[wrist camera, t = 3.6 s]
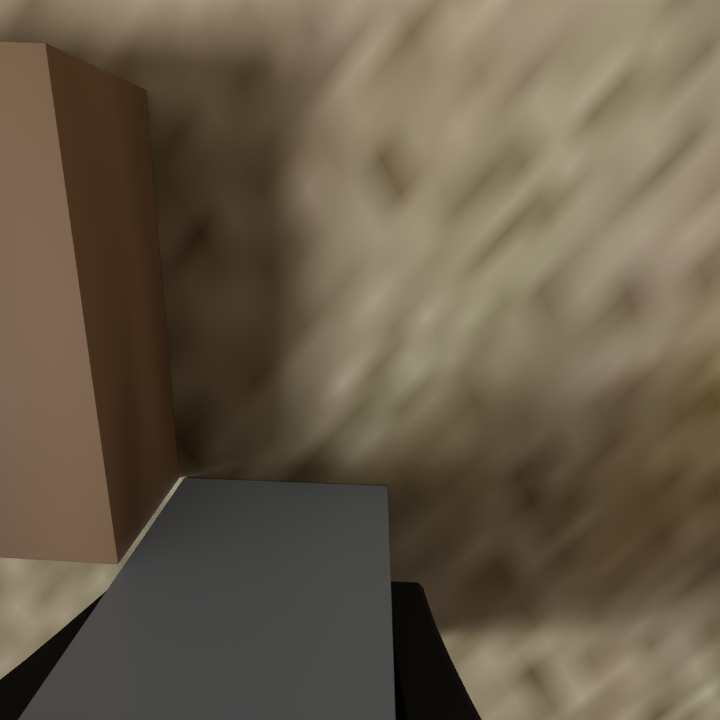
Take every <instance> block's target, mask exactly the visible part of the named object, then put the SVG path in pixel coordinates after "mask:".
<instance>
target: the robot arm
mask: <svg viewBox="0 0 720 720" xmlns="http://www.w3.org/2000/svg"><path fill="white" fill-rule="evenodd" d="M105 593H106V592H105ZM105 593H103V594H102V595H101V596H100V597H99V598H98V599H96V600H95V601H94V602H93V603H92V604H91V605H90V606H88V607H87V608H86V609H85V610H84V611H83V612H81V613H80V614H79V615H78V616H77V617H76V618H74V619H73V620H72V621H71V622H70V623H69V624H68V625H66V626H65V627H64V628H63V629H62V630H60V631H59V632H58V633H57V634H56V635H55V636H53V637H52V638H51V639H50V640H49V641H47V642H46V643H45V644H44V645H43V646H41V647H40V648H39V649H38V650H37V651H35V652H34V653H33V654H32V655H31V656H29V657H28V658H27V659H26V660H25V661H23V662H22V663H21V664H20V665H18V666H17V667H16V668H15V669H13V670H12V671H11V672H9V673H8V674H7V675H6V676H4V677H3V678H2V679H1V680H0V720H18V719H19V718H20V716H21V715H22V713H23V712H24V710H25V709H26V707H27V706H28V705H29V703H30V702H31V700H32V699H33V697H34V696H35V694H36V693H37V691H38V690H39V689H40V687H41V686H42V684H43V683H44V681H45V680H46V678H47V677H48V675H49V674H50V673H51V671H52V670H53V668H54V667H55V665H56V664H57V662H58V661H59V659H60V658H61V657H62V655H63V654H64V652H65V651H66V649H67V648H68V646H69V645H70V643H71V642H72V641H73V639H74V638H75V636H76V635H77V633H78V632H79V630H80V629H81V627H82V626H83V625H84V623H85V622H86V620H87V619H88V617H89V616H90V614H91V613H92V611H93V610H94V609H95V607H96V606H97V604H98V603H99V601H100V600H101V598H102V597H103V595H104V594H105ZM391 603H392V632H393V662H394V691H395V720H481V718H480V716H479V714H478V712H477V710H476V708H475V707H474V705H473V703H472V701H471V699H470V697H469V695H468V693H467V691H466V689H465V687H464V685H463V683H462V681H461V679H460V677H459V675H458V673H457V671H456V669H455V667H454V665H453V663H452V661H451V658H450V656H449V654H448V652H447V650H446V647H445V645H444V643H443V641H442V638H441V636H440V633H439V631H438V629H437V626H436V624H435V621H434V619H433V616H432V613H431V611H430V608H429V605H428V602H427V599H426V596H425V593H424V589H423V587H422V586H421V585H420V584H419V583H413V582H391Z"/></svg>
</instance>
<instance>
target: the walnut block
mask: <svg viewBox="0 0 720 720" xmlns="http://www.w3.org/2000/svg"><path fill="white" fill-rule="evenodd" d="M178 479H179V469H178V458H177V446H176V435H175V423H174V412H173V400H172V389H171V377H170V365H169V354H168V342H167V331H166V319H165V308H164V296H163V285H162V273H161V261H160V250H159V238H158V227H157V215H156V204H155V192H154V181H153V169H152V157H151V146H150V134H149V123H148V111H147V100H146V90H144V89H142V88H140V87H138V86H136V85H133V84H131V83H129V82H127V81H125V80H123V79H121V78H118V77H116V76H114V75H112V74H110V73H108V72H106V71H103V70H101V69H99V68H97V67H95V66H93V65H91V64H88V63H86V62H84V61H82V60H80V59H78V58H76V57H73V56H71V55H69V54H67V53H65V52H63V51H61V50H58V49H56V48H54V47H52V46H50V45H48V44H46V43H25V42H0V557H2V558H19V559H36V560H53V561H70V562H87V563H104V564H119V562H120V561H121V559H122V558H123V557H124V555H125V554H126V552H127V551H128V549H129V548H130V547H131V545H132V544H133V542H134V541H135V540H136V538H137V537H138V535H139V534H140V532H141V531H142V530H143V528H144V527H145V525H146V524H147V523H148V521H149V520H150V518H151V517H152V515H153V514H154V513H155V511H156V510H157V508H158V507H159V506H160V504H161V503H162V501H163V500H164V498H165V497H166V496H167V494H168V493H169V491H170V490H171V489H172V487H173V486H174V484H175V483H176V481H177V480H178Z"/></svg>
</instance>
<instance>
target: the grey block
mask: <svg viewBox="0 0 720 720" xmlns="http://www.w3.org/2000/svg"><path fill="white" fill-rule="evenodd" d="M18 720H395V691H394V662H393V632H392V603H391V574H390V545H389V516H388V487H387V486H376V485H351V484H326V483H301V482H276V481H251V480H226V479H201V478H184V479H183V481H182V482H181V483H180V485H179V486H178V488H177V489H176V491H175V492H174V494H173V495H172V497H171V498H170V499H169V501H168V502H167V504H166V505H165V507H164V508H163V510H162V511H161V513H160V514H159V515H158V517H157V518H156V520H155V521H154V523H153V524H152V526H151V527H150V529H149V530H148V531H147V533H146V534H145V536H144V537H143V539H142V540H141V542H140V543H139V545H138V546H137V547H136V549H135V550H134V552H133V553H132V555H131V556H130V558H129V559H128V561H127V562H126V563H125V565H124V566H123V568H122V569H121V571H120V572H119V574H118V575H117V577H116V578H115V579H114V581H113V582H112V584H111V585H110V587H109V588H108V590H107V591H106V593H105V594H104V595H103V597H102V598H101V600H100V601H99V603H98V604H97V606H96V607H95V609H94V610H93V611H92V613H91V614H90V616H89V617H88V619H87V620H86V622H85V623H84V625H83V626H82V627H81V629H80V630H79V632H78V633H77V635H76V636H75V638H74V639H73V641H72V642H71V643H70V645H69V646H68V648H67V649H66V651H65V652H64V654H63V655H62V657H61V658H60V659H59V661H58V662H57V664H56V665H55V667H54V668H53V670H52V671H51V673H50V674H49V675H48V677H47V678H46V680H45V681H44V683H43V684H42V686H41V687H40V689H39V690H38V691H37V693H36V694H35V696H34V697H33V699H32V700H31V702H30V703H29V705H28V706H27V707H26V709H25V710H24V712H23V713H22V715H21V716H20V718H19V719H18Z"/></svg>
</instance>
